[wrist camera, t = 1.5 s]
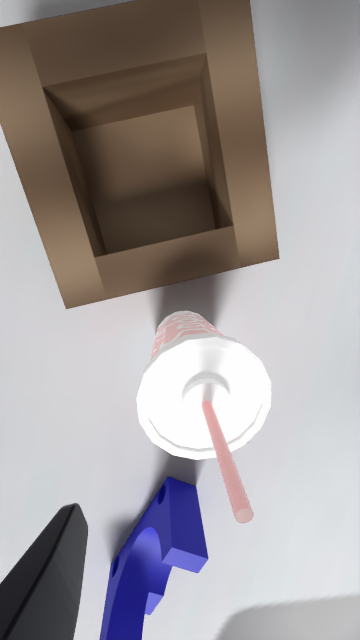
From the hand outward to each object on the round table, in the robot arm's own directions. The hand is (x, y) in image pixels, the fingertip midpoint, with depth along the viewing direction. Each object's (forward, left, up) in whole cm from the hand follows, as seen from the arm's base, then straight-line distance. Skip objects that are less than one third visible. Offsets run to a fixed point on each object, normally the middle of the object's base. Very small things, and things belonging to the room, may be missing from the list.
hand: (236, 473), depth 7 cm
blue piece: (-19, +7, -13) cm, 24 cm away
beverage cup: (0, 0, -13) cm, 13 cm away
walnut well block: (+11, 0, -13) cm, 17 cm away
